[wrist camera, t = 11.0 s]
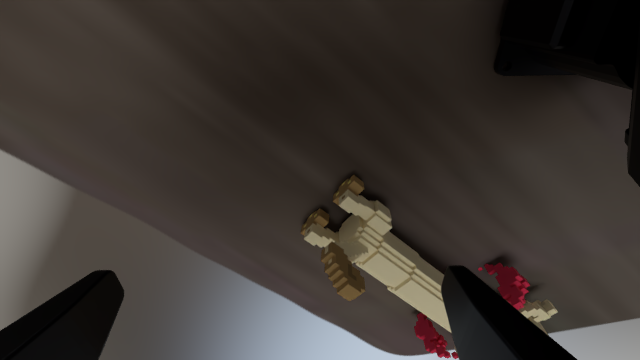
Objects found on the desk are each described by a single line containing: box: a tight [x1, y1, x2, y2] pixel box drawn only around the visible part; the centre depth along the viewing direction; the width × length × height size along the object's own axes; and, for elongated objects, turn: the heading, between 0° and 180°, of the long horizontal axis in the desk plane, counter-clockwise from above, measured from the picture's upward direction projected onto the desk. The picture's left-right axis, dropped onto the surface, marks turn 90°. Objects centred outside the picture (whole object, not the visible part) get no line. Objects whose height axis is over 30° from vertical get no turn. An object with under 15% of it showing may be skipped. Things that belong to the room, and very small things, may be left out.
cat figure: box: [301, 175, 558, 359], centre depth 22 cm, size 10×9×25 cm
